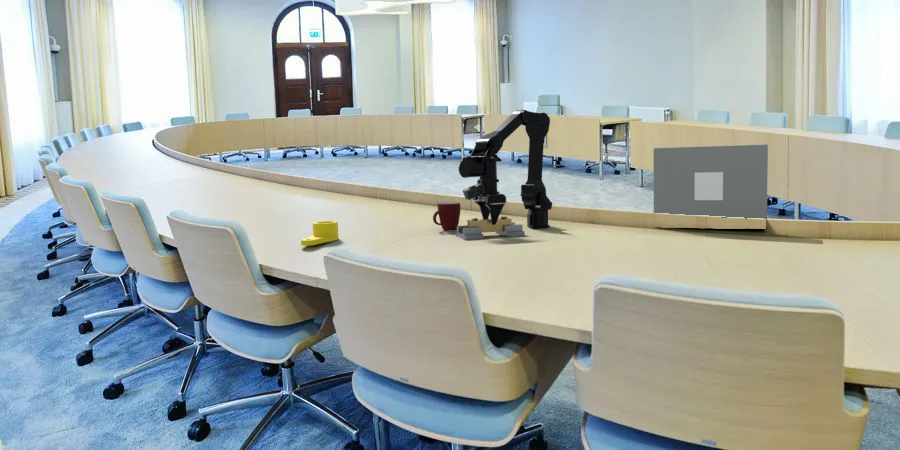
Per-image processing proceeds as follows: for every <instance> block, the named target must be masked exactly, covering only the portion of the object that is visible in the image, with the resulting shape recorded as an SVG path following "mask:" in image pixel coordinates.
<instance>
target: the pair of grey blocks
mask: <svg viewBox="0 0 900 450" xmlns="http://www.w3.org/2000/svg"><path fill="white" fill-rule="evenodd" d="M523 225H524V224H516V222H515V221H512V225H505V226H504V231H501V232H495V234H498V235H500V236H503V237H505V238H517V237H525V236H526V235H525V230H523V228H524V227H523ZM455 236H456V237H458V238H460V239H462V240H464V241H472V240H484V234H483V233H482V227H475V228H468V224H467V225H465V224H464V225H458V226H457V229H456V231H455Z"/></svg>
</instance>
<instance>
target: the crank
mask: <svg viewBox="0 0 900 450" xmlns="http://www.w3.org/2000/svg"><path fill="white" fill-rule="evenodd" d="M338 240H339V223H338V220H337V221H336V220H324V221H322V220H321V221H313V222H312V235H310V236H308V237H306V238H305V237H304V238H302V239H300V243H301V244H300V245H301V246H306V247H307V246H309V247H310V246H315V245H319V244H325V243H329V242H334V241H338Z"/></svg>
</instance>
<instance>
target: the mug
mask: <svg viewBox="0 0 900 450" xmlns="http://www.w3.org/2000/svg"><path fill="white" fill-rule="evenodd" d="M460 215H461V202H459V201H458V202H457V201H456V202H455V201H449V202H439V203H437V211H435V212H434V214H433V216H432V221H433V223H434V224H435V225H436V226H441V228H442V230H443V231H447V230H448V231H449V230H451V231H455V230H456V231H457V226H459V224H460V218H461V217H460ZM437 216H438V218H439V222H438V221H437Z"/></svg>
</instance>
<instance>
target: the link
mask: <svg viewBox="0 0 900 450" xmlns="http://www.w3.org/2000/svg"><path fill="white" fill-rule="evenodd" d="M466 222H467V225H468V228H475V227H482V234H483V233H484V234H486V233H496V232H501V231H504V226H505V225H512V222H513V221H512V218H511V217H508V216H504V215H503V216H500V218H499V217H498V220H497V222H496V224H495V225H492V222H491V218H488V219H483V218H482V219H479V218H478V217H473V218H471V219H467V221H466Z"/></svg>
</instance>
